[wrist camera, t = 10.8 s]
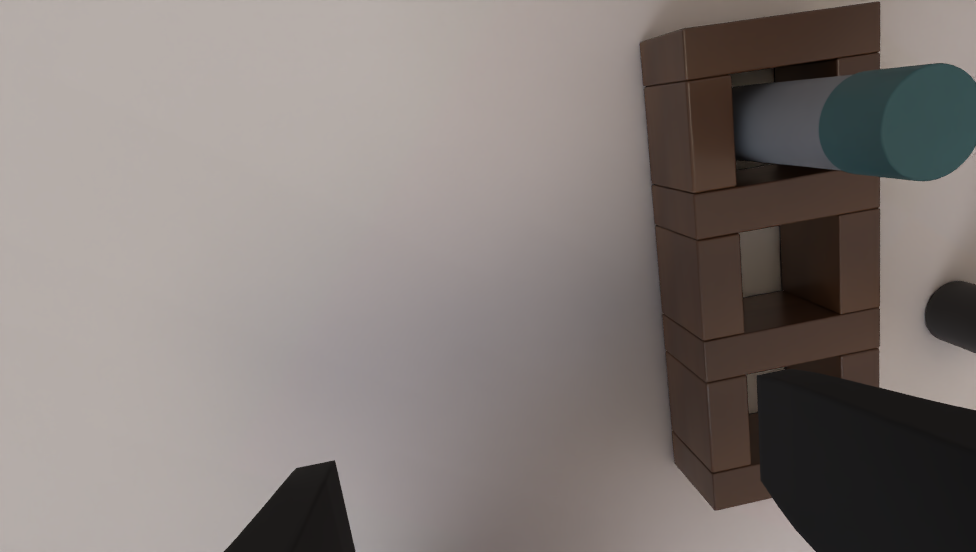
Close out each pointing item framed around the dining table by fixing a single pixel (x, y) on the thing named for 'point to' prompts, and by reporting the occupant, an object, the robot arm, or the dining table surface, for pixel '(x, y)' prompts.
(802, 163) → the teal marker
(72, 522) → the dining table surface
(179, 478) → the dining table surface
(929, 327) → the black marker
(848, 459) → the robot arm
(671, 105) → the marker stand
